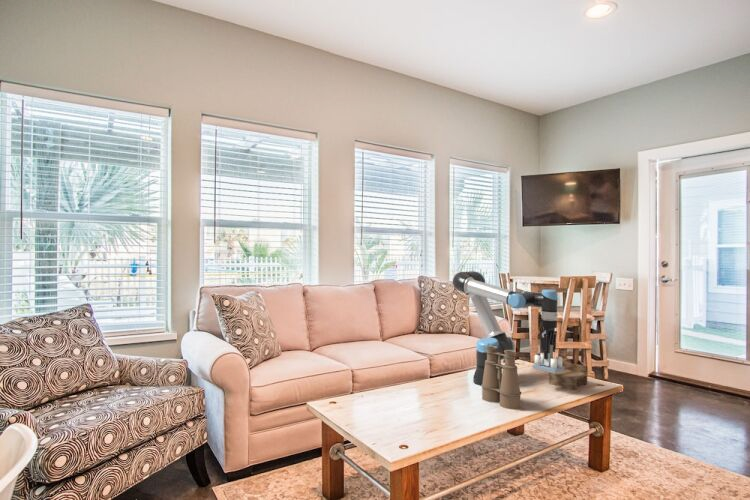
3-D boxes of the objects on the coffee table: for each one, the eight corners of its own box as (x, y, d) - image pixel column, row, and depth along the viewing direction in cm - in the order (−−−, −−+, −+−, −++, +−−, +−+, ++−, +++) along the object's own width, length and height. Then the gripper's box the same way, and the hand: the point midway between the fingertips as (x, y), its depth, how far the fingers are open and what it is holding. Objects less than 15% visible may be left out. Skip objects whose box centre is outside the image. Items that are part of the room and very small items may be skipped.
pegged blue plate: (532, 367, 218) (532, 344, 218) (541, 364, 225) (542, 341, 225) (555, 373, 209) (555, 348, 209) (564, 369, 216) (564, 345, 216)
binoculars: (476, 398, 203) (476, 346, 203) (490, 394, 208) (490, 344, 209) (511, 411, 186) (511, 354, 186) (526, 406, 191) (525, 351, 192)
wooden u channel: (549, 383, 226) (548, 366, 226) (561, 378, 236) (561, 361, 236) (575, 389, 216) (575, 371, 216) (587, 384, 226) (587, 366, 226)
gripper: (548, 322, 209) (547, 369, 209) (563, 319, 219) (562, 363, 219) (534, 320, 214) (533, 365, 214) (549, 317, 225) (548, 360, 225)
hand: (548, 364), depth 217 cm, fingers closed on pegged blue plate, 3 cm apart
